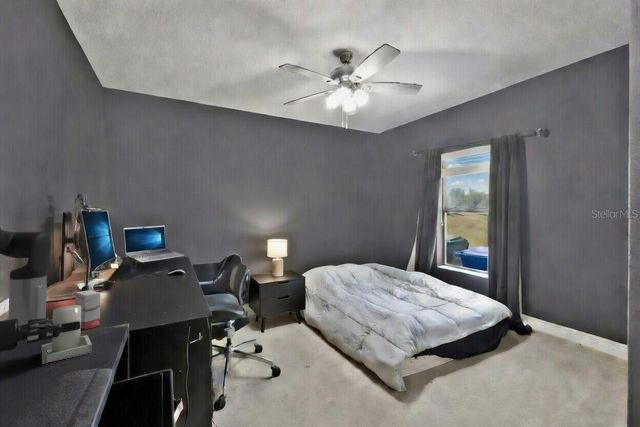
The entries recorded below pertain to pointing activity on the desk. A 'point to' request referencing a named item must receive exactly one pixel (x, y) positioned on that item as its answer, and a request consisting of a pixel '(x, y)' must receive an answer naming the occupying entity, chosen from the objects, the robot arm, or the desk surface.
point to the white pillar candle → (72, 337)
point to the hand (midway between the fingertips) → (78, 322)
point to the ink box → (89, 308)
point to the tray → (66, 351)
